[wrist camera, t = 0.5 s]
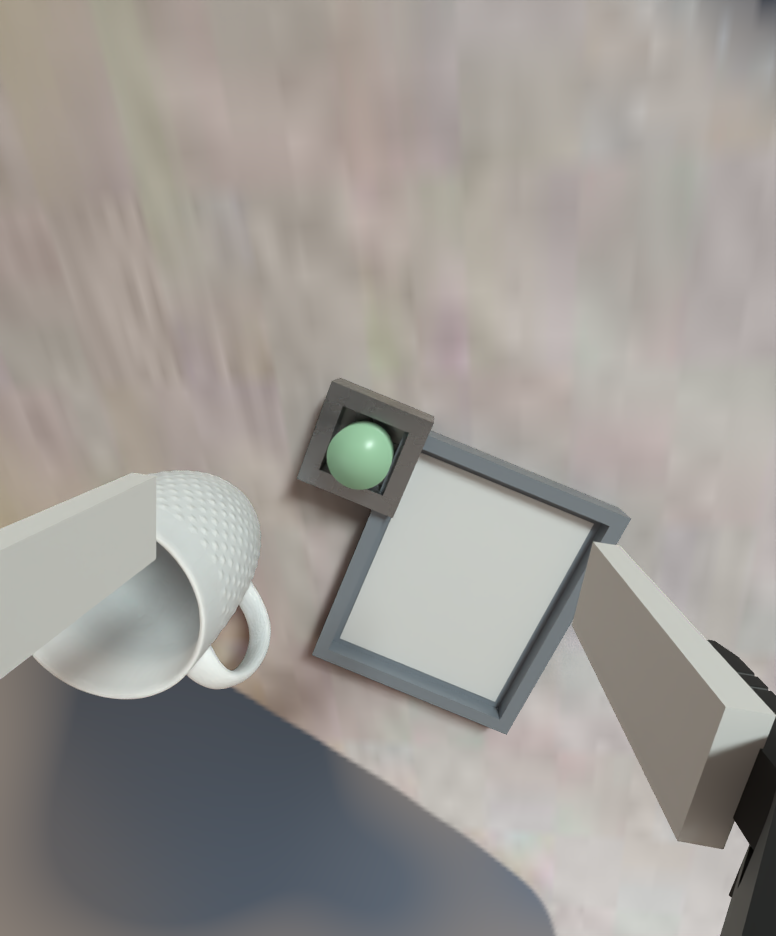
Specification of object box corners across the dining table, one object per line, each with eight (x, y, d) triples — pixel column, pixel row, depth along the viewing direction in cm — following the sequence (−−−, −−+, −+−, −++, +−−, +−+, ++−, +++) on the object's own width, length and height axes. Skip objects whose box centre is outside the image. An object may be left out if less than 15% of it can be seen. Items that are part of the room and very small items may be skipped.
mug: (340, 583, 38) (292, 703, 25) (232, 645, 40) (138, 783, 27) (225, 422, 35) (109, 465, 23) (117, 498, 38) (-42, 575, 25)
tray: (318, 638, 39) (312, 655, 37) (408, 421, 34) (406, 426, 32) (502, 713, 39) (506, 734, 37) (618, 508, 34) (631, 518, 32)
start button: (325, 466, 33) (317, 475, 30) (346, 411, 32) (339, 416, 29) (380, 488, 33) (376, 499, 30) (403, 434, 32) (400, 441, 29)
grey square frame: (308, 467, 36) (296, 478, 33) (340, 377, 34) (332, 381, 31) (396, 504, 36) (392, 518, 33) (433, 416, 34) (433, 423, 31)
